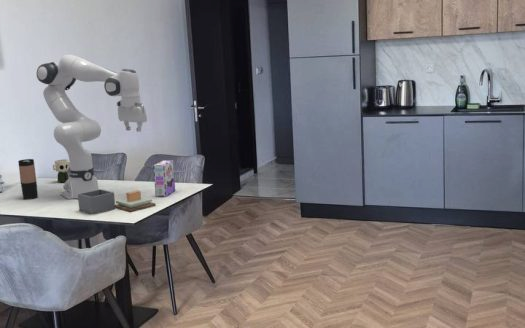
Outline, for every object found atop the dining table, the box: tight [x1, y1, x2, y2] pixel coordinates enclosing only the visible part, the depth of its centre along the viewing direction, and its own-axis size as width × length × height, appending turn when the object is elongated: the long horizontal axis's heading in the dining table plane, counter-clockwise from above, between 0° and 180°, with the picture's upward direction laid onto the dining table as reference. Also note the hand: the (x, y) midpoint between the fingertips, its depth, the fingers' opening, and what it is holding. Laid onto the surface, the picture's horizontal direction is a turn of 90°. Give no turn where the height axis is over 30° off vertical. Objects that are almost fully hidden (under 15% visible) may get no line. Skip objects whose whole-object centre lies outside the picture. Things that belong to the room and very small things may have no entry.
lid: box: [115, 190, 153, 208], centre depth 269 cm, size 12×12×6 cm
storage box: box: [77, 189, 116, 216], centre depth 266 cm, size 12×12×8 cm
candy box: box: [153, 160, 176, 198], centre depth 293 cm, size 14×6×16 cm, turn 168°
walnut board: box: [115, 201, 157, 213], centre depth 270 cm, size 14×14×1 cm
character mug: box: [52, 158, 70, 183], centre depth 334 cm, size 11×7×13 cm, turn 137°
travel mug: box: [17, 158, 39, 200], centre depth 296 cm, size 8×8×20 cm
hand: (133, 130), depth 280 cm, fingers open, 8 cm apart
